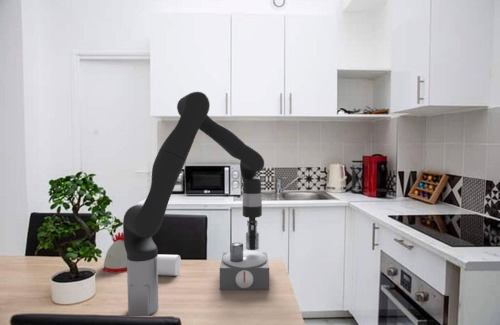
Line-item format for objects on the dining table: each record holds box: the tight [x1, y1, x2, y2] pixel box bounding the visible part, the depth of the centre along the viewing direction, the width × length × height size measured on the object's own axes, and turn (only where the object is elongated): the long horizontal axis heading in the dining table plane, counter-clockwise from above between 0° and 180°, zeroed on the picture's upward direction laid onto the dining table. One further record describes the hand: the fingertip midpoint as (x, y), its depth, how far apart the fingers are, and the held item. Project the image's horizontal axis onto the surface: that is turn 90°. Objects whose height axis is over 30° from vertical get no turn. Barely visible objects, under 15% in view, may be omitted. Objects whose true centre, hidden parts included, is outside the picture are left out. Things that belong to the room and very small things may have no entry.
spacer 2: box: [245, 231, 260, 251], centre depth 129 cm, size 5×5×6 cm
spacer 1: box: [229, 241, 244, 262], centre depth 123 cm, size 5×5×6 cm
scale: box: [219, 249, 270, 291], centre depth 126 cm, size 18×18×9 cm
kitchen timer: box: [103, 231, 127, 273], centre depth 142 cm, size 14×14×15 cm
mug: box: [158, 254, 182, 277], centre depth 135 cm, size 12×10×8 cm
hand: (252, 246), depth 129 cm, fingers closed on spacer 2, 5 cm apart
